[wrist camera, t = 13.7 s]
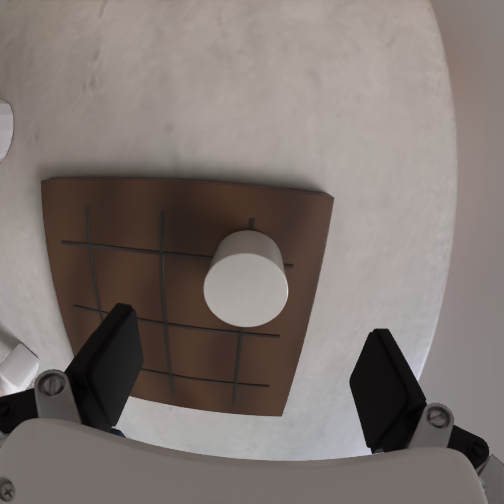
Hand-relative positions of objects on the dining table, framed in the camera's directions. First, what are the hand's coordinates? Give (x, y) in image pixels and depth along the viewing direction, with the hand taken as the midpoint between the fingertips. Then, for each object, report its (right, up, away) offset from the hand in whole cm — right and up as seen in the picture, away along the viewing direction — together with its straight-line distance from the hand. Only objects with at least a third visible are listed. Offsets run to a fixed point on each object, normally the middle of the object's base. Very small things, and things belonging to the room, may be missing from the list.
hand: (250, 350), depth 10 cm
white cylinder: (0, +3, +8) cm, 9 cm away
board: (-7, -1, +12) cm, 14 cm away
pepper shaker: (-30, -10, +16) cm, 35 cm away
